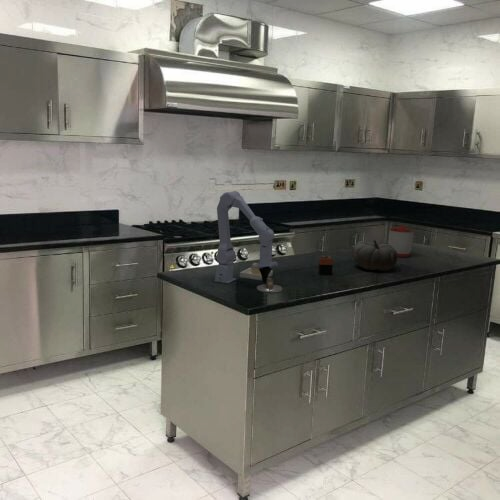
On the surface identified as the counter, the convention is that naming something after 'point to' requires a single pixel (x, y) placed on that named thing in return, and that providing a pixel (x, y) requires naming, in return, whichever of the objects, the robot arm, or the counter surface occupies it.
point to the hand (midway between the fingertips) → (264, 282)
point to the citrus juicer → (401, 240)
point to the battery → (325, 265)
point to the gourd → (375, 256)
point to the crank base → (265, 289)
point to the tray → (249, 275)
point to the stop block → (255, 270)
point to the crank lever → (269, 283)
